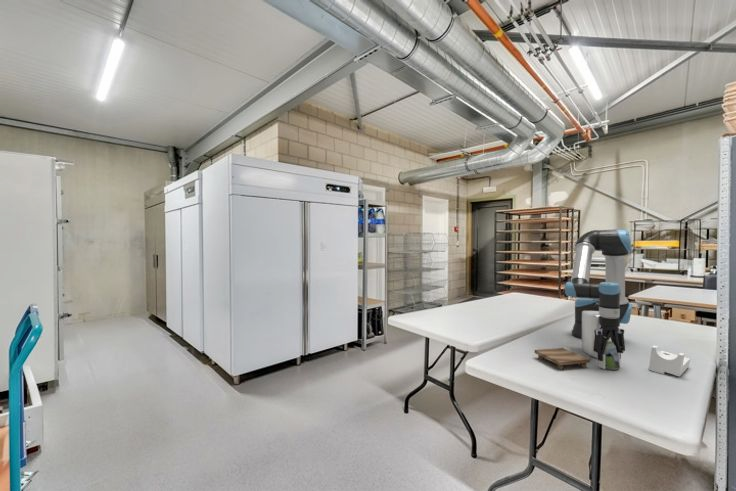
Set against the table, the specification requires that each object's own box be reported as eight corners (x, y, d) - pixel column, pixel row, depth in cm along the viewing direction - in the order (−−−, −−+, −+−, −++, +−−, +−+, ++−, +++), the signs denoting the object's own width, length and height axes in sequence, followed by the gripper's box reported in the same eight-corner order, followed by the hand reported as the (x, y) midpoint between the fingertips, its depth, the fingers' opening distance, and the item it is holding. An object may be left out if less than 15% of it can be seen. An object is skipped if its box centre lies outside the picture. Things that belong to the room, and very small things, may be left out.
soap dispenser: (618, 354, 160) (618, 311, 159) (615, 362, 149) (615, 316, 149) (583, 348, 170) (582, 307, 170) (577, 355, 160) (577, 311, 159)
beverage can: (622, 371, 139) (622, 344, 139) (603, 370, 141) (603, 343, 140) (614, 366, 145) (614, 340, 145) (596, 365, 147) (596, 339, 147)
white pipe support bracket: (679, 379, 132) (682, 355, 131) (648, 369, 140) (651, 346, 139) (688, 369, 143) (691, 346, 142) (659, 360, 151) (662, 339, 150)
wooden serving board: (534, 357, 156) (534, 349, 156) (562, 355, 159) (562, 347, 159) (559, 370, 141) (559, 362, 141) (590, 367, 144) (590, 359, 143)
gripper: (597, 319, 137) (597, 372, 138) (636, 317, 141) (636, 368, 141) (583, 315, 145) (583, 365, 145) (619, 313, 148) (619, 362, 148)
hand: (609, 366), depth 143 cm, fingers closed on beverage can, 7 cm apart
